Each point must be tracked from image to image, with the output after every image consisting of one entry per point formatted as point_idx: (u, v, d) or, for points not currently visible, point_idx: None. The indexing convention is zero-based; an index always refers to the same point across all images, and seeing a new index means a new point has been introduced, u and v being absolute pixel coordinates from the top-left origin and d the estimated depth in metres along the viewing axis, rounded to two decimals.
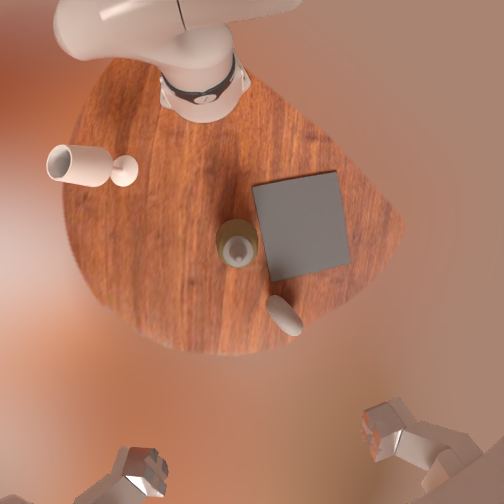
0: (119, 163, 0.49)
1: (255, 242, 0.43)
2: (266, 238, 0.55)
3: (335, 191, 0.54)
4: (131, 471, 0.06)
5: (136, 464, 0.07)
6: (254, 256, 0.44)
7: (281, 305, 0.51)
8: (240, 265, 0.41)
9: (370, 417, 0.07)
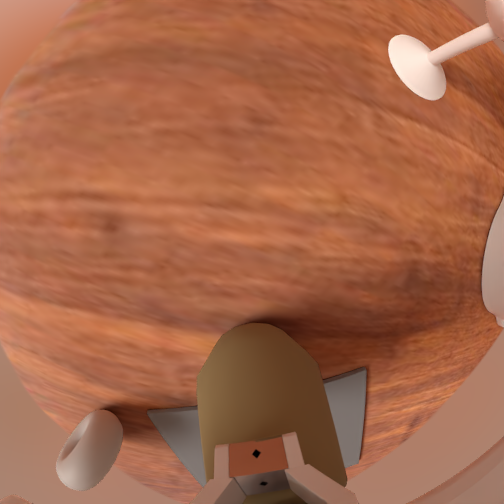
0: None
1: None
2: None
3: None
4: (240, 470, 0.06)
5: (244, 461, 0.07)
6: None
7: (107, 470, 0.13)
8: None
9: (257, 448, 0.07)
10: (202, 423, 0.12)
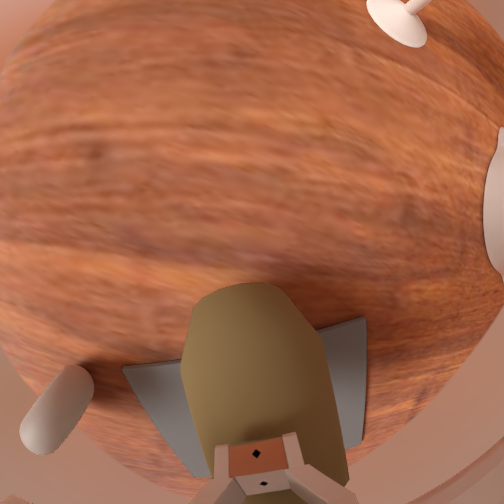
0: (416, 15, 0.13)
1: None
2: None
3: None
4: (240, 470, 0.06)
5: (244, 461, 0.07)
6: None
7: (70, 429, 0.12)
8: None
9: (257, 448, 0.07)
10: (200, 433, 0.10)
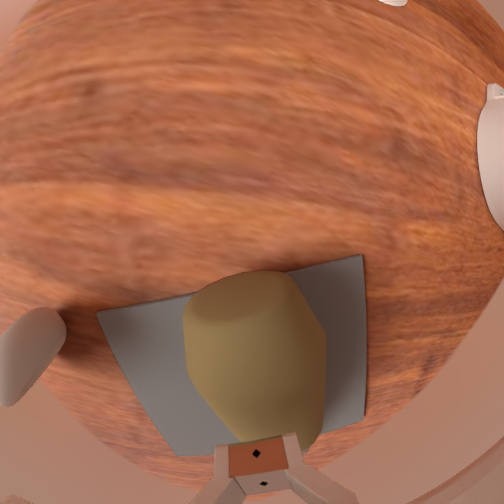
0: None
1: None
2: None
3: (326, 426, 0.22)
4: (240, 470, 0.06)
5: (244, 461, 0.07)
6: None
7: (30, 370, 0.11)
8: None
9: (257, 448, 0.07)
10: (226, 424, 0.14)
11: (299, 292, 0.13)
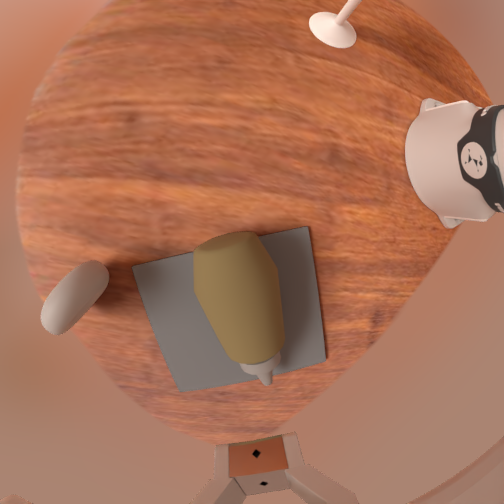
0: (347, 25, 0.24)
1: None
2: None
3: (296, 363, 0.33)
4: (240, 470, 0.06)
5: (244, 461, 0.07)
6: None
7: (88, 296, 0.21)
8: None
9: (257, 448, 0.07)
10: (216, 328, 0.24)
11: (258, 239, 0.24)
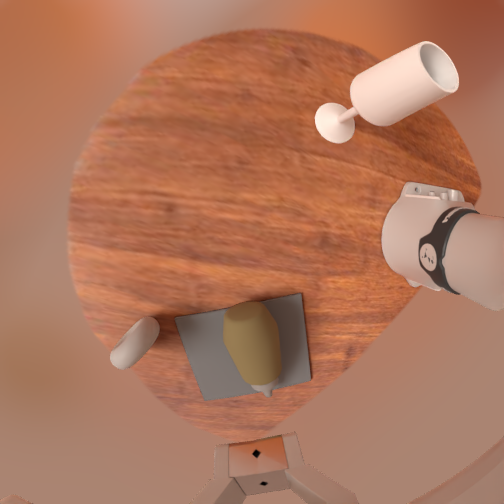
0: None
1: None
2: None
3: (289, 381, 0.45)
4: (240, 470, 0.06)
5: (244, 461, 0.07)
6: None
7: (150, 346, 0.34)
8: None
9: (257, 448, 0.07)
10: (237, 364, 0.36)
11: (266, 311, 0.36)
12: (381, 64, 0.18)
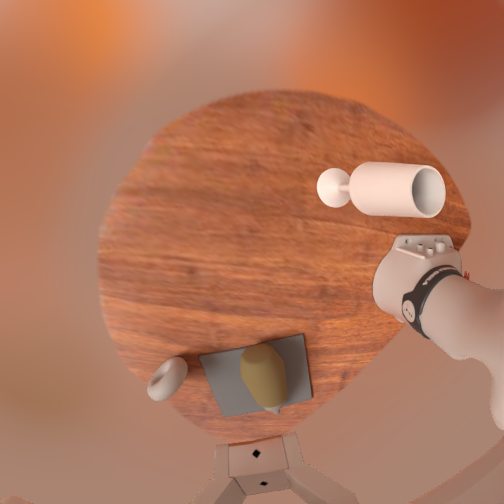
0: None
1: None
2: None
3: (293, 400, 0.52)
4: (240, 470, 0.06)
5: (244, 461, 0.07)
6: None
7: (182, 383, 0.41)
8: None
9: (257, 448, 0.07)
10: (251, 393, 0.44)
11: (275, 354, 0.43)
12: (378, 174, 0.25)
